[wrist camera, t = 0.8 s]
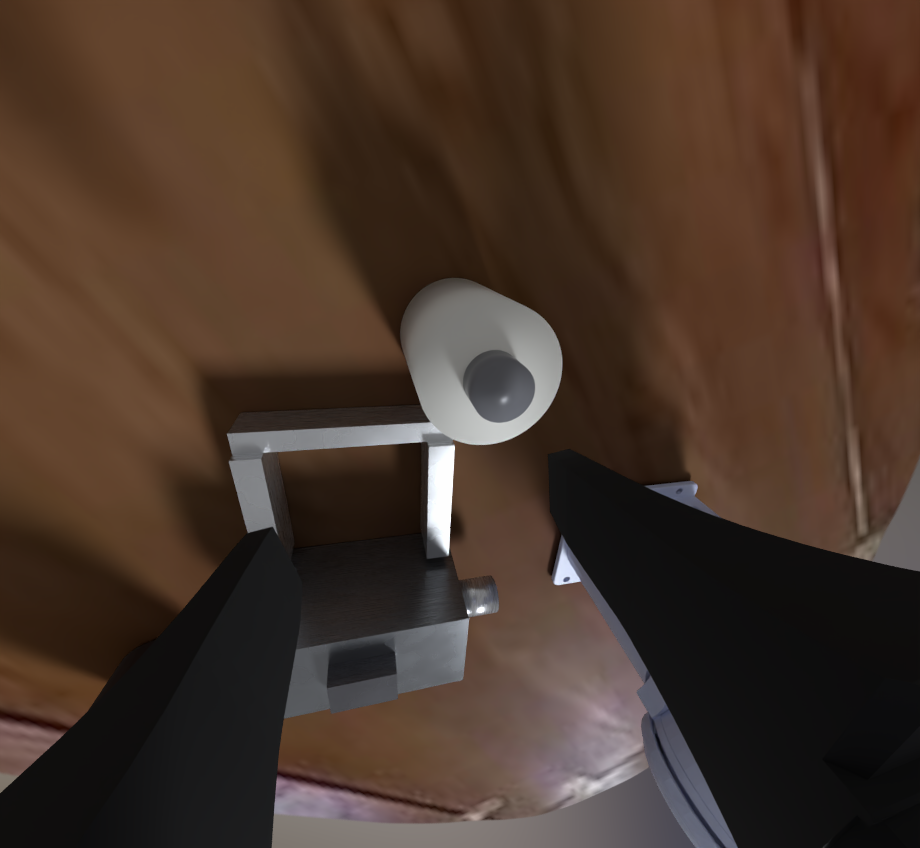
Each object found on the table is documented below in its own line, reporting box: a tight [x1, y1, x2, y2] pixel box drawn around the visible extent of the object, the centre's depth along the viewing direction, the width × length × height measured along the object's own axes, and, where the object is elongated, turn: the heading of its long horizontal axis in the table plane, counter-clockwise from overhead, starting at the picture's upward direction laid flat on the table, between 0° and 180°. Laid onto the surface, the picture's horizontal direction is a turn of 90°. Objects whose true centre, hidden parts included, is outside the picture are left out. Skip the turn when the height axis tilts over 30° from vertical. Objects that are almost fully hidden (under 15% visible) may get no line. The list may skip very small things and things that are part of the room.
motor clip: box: [227, 405, 499, 718], centre depth 18 cm, size 12×14×7 cm
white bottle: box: [400, 278, 562, 445], centre depth 14 cm, size 5×5×7 cm
